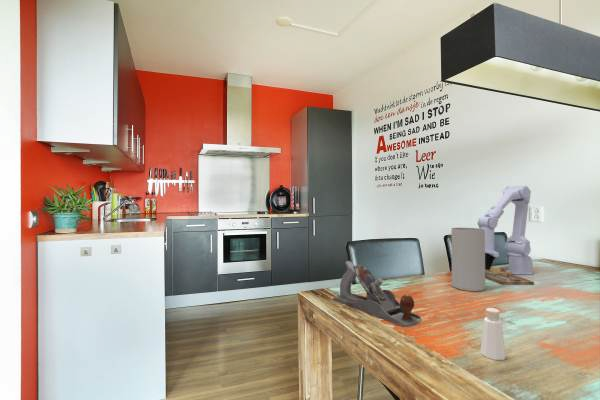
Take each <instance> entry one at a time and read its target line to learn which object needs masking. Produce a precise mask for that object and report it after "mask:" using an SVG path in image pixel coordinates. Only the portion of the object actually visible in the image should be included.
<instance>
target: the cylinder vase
mask: <svg viewBox="0 0 600 400" xmlns="http://www.w3.org/2000/svg"><path fill="white" fill-rule="evenodd" d="M451 285H452V287H453V288H455V289H457V290H460V291H464V292H465V291H466V292H482V291H484V290H485V289H486V278H485V229H480V228H479V227H451Z"/></svg>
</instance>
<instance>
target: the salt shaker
mask: <svg viewBox="0 0 600 400" xmlns="http://www.w3.org/2000/svg"><path fill="white" fill-rule="evenodd" d="M485 314H486V317H484V318H483V325H482V333H481V342H480V352H479V353H480V354H481V355H483V357H485V358H487V359H491V360H494V361H503V360H506V357H507V355H506V348H505V347H506V346H505V339H504V331H503V330H504V329H503V323H502V320H501V319H500V310H499V309H497V308H494V307H487V308H486V309H485Z"/></svg>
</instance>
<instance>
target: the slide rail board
mask: <svg viewBox="0 0 600 400" xmlns="http://www.w3.org/2000/svg"><path fill="white" fill-rule="evenodd" d="M488 271H489V272H490V270H488ZM500 272H505V270H500ZM497 275H500V276H502V277H505V278H508V279H509V282H506V281H503V280H501V279H498V278H496V277H493V276H491V275H488V274H486V273H485V279H486V280H489V281H492V282H494V283H496V284H499V285H501V286H512V285H513V286H523V285H524V286H534V285H535V282H534V281H533V280H532V281H531V280H530V279H528V278H527V279H526V278H523V277H521V276H518V275H516V274H509V276H507V274H497Z"/></svg>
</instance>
